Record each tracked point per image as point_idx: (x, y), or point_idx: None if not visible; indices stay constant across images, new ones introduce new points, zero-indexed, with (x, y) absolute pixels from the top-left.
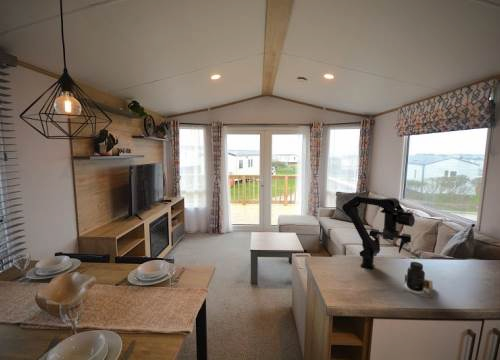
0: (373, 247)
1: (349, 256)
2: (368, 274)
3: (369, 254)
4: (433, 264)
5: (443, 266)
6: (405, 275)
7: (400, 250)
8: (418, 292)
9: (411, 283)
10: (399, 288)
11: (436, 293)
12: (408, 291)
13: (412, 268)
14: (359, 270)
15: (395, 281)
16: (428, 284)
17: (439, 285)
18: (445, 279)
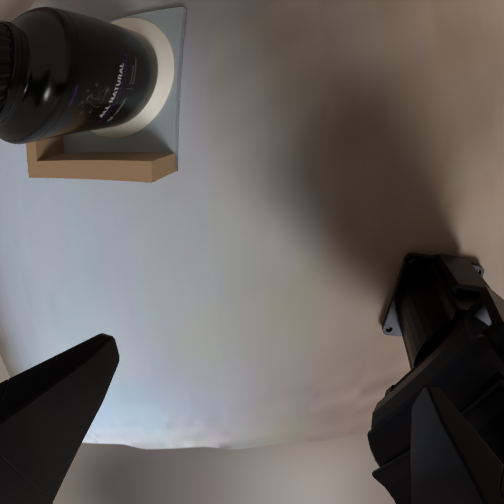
0: (496, 400)
1: None
2: (441, 147)
3: (499, 309)
4: (113, 416)
5: None
6: (149, 161)
7: (57, 356)
8: None
9: (111, 23)
10: (209, 21)
11: None
12: (156, 12)
13: (18, 32)
14: (495, 194)
15: (237, 120)
16: (53, 155)
17: (44, 224)
18: (46, 302)
